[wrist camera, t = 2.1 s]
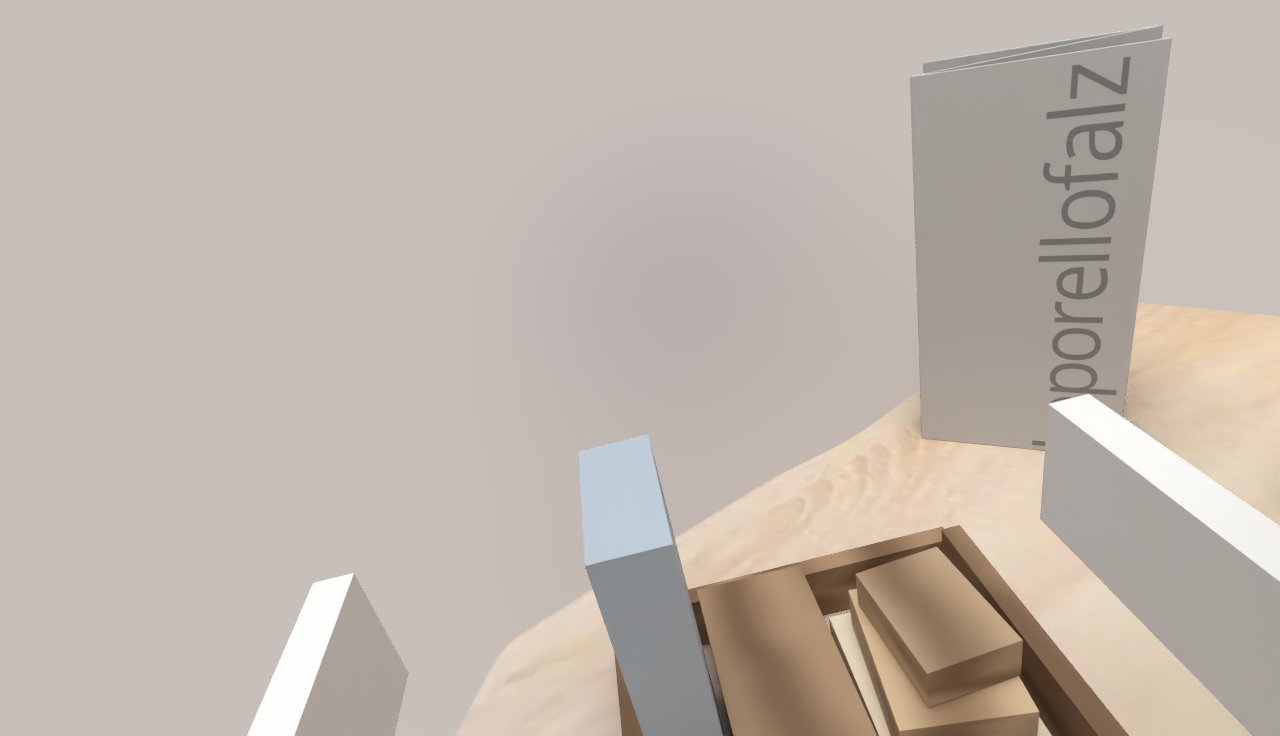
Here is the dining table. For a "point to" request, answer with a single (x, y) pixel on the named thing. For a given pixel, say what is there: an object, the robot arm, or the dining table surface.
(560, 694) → the dining table surface
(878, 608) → the offcut top
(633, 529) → the grey rectangular block
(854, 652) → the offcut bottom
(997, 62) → the brochure
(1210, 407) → the dining table surface
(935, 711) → the plate
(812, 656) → the tray
